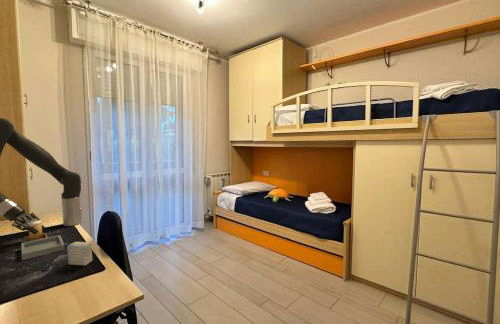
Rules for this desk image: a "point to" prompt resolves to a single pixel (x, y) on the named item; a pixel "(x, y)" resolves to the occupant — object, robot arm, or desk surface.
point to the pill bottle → (37, 226)
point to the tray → (42, 247)
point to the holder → (34, 240)
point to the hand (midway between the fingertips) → (39, 230)
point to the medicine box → (79, 253)
